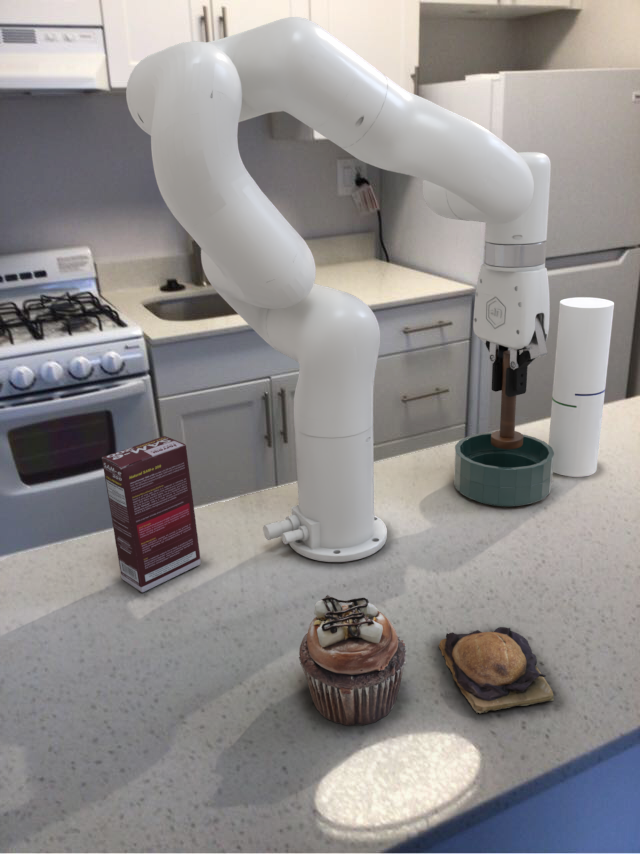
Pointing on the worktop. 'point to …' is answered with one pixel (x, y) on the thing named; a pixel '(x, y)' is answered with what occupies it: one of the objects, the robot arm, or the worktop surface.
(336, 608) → the cupcake
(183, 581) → the worktop surface
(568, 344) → the cylindrical container
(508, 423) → the paper towel holder
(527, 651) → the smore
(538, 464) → the bowl
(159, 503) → the supplement box
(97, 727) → the worktop surface
